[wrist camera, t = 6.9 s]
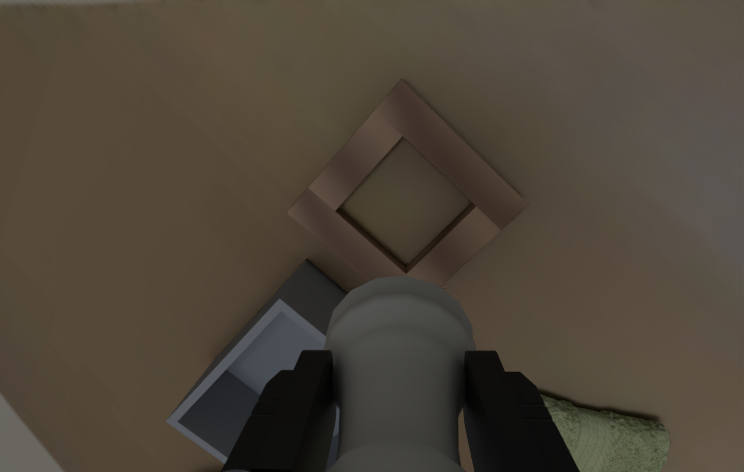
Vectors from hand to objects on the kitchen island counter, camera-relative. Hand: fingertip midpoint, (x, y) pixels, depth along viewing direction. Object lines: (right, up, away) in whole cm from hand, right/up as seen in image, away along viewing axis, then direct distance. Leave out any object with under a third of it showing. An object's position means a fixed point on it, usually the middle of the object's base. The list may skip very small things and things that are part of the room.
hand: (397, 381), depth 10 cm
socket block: (+2, +6, +18) cm, 19 cm away
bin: (-5, -7, +23) cm, 24 cm away
